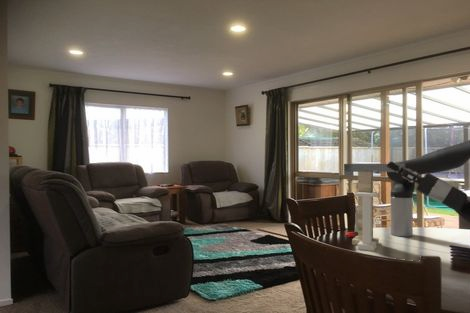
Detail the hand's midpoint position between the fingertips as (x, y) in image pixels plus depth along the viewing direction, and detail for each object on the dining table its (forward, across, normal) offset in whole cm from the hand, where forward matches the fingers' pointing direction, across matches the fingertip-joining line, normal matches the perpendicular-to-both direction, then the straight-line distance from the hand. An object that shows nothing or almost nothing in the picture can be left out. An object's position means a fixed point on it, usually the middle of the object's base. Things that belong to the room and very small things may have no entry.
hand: (389, 163), depth 140 cm
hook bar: (+3, 0, +5) cm, 6 cm away
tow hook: (-1, -22, +37) cm, 43 cm away
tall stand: (-7, -8, +34) cm, 35 cm away
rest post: (-9, 0, +33) cm, 34 cm away
